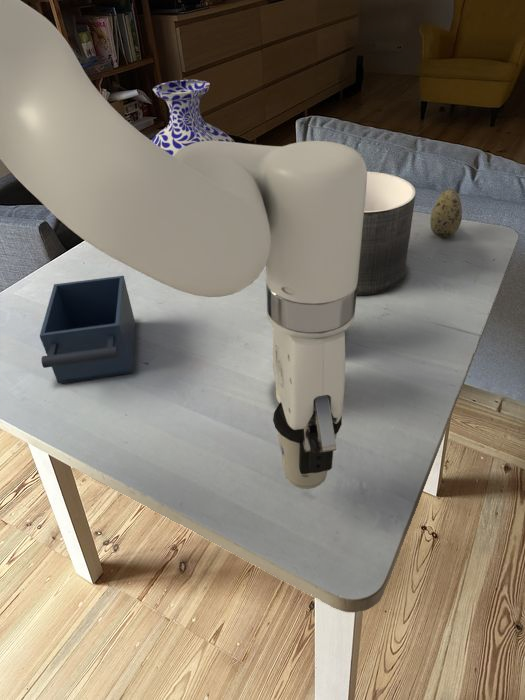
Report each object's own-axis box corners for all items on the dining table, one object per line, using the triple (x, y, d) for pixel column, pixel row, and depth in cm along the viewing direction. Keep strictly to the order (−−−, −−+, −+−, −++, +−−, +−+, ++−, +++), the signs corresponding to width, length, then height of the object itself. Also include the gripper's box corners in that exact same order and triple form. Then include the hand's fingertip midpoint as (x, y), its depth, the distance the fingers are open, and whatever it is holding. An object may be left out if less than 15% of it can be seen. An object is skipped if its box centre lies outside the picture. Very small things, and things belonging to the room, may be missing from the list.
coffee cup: (348, 464, 60) (355, 399, 54) (318, 509, 56) (321, 444, 49) (294, 439, 63) (295, 375, 57) (262, 480, 59) (259, 415, 53)
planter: (315, 299, 94) (315, 215, 85) (305, 251, 108) (305, 174, 99) (415, 292, 94) (428, 208, 85) (393, 245, 108) (401, 168, 98)
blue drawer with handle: (131, 392, 78) (117, 343, 72) (53, 403, 77) (33, 354, 71) (134, 320, 92) (123, 275, 86) (69, 329, 91) (53, 284, 85)
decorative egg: (431, 228, 113) (438, 182, 107) (460, 232, 111) (469, 185, 105) (424, 240, 109) (431, 193, 103) (455, 245, 107) (464, 197, 101)
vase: (132, 238, 117) (99, 90, 98) (210, 207, 128) (193, 68, 109) (190, 272, 104) (165, 109, 85) (271, 235, 115) (264, 82, 96)
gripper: (252, 254, 52) (258, 390, 63) (287, 369, 38) (287, 517, 49) (328, 246, 52) (321, 382, 63) (388, 356, 39) (366, 504, 50)
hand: (306, 440), depth 56 cm, fingers closed on coffee cup, 7 cm apart
